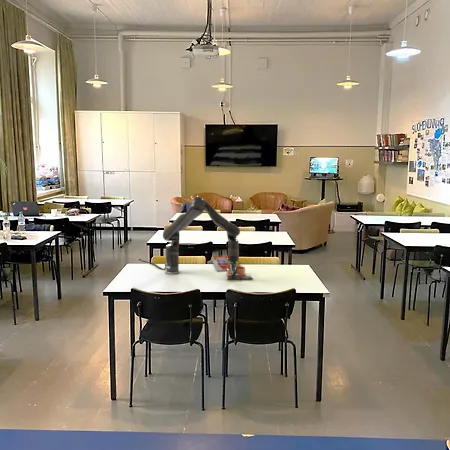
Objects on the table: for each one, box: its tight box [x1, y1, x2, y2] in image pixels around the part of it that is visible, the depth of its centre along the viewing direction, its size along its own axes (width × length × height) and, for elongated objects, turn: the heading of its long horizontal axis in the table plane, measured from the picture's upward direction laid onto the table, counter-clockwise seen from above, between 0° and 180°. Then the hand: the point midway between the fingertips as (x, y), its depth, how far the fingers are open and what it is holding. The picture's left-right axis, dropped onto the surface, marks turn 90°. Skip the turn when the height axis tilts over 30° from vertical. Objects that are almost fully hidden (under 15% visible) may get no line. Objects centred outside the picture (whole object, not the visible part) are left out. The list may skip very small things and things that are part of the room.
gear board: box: [210, 255, 241, 272], centre depth 358 cm, size 45×2×19 cm
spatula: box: [226, 274, 253, 281], centre depth 313 cm, size 17×5×3 cm, turn 103°
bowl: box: [226, 265, 246, 277], centre depth 325 cm, size 13×13×5 cm
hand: (233, 278), depth 312 cm, fingers closed on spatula, 2 cm apart
